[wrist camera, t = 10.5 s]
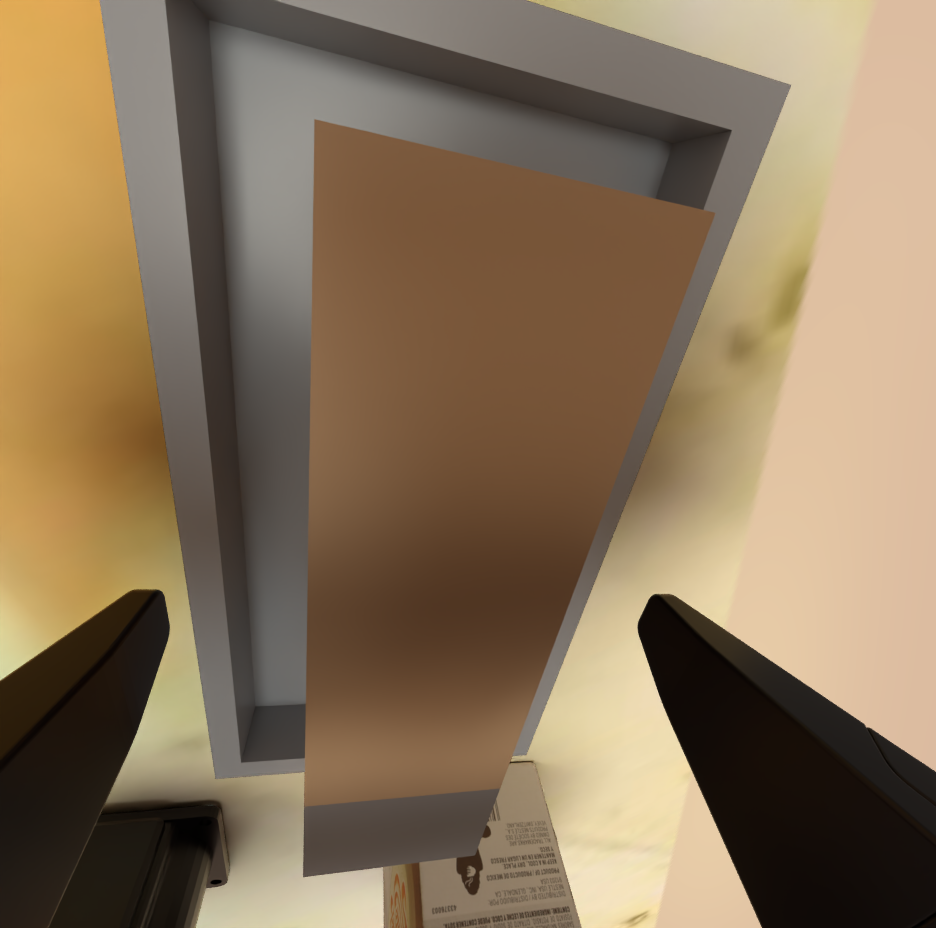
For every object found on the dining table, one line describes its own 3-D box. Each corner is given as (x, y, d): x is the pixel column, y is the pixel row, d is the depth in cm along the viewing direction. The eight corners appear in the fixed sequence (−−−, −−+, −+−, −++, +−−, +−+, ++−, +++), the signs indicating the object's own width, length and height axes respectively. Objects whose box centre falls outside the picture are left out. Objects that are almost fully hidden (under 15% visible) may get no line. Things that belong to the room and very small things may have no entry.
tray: (509, 693, 19) (526, 754, 17) (236, 705, 17) (215, 778, 15) (703, 111, 10) (791, 85, 8) (163, -45, 8) (78, -143, 5)
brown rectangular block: (352, 170, 9) (314, 118, 4) (541, 210, 10) (716, 213, 5) (329, 653, 15) (303, 877, 10) (445, 650, 16) (474, 855, 11)
